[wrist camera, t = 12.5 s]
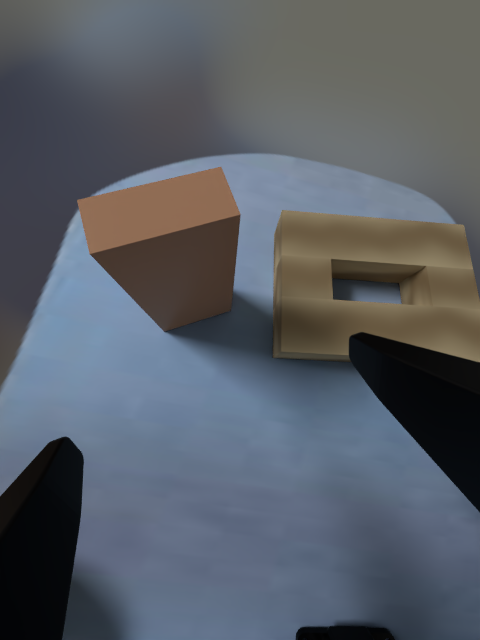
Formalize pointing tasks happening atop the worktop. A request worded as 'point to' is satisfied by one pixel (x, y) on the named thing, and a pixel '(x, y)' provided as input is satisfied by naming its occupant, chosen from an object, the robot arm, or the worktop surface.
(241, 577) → the worktop surface
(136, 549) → the worktop surface
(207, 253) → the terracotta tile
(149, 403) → the worktop surface
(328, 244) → the pine slot box
